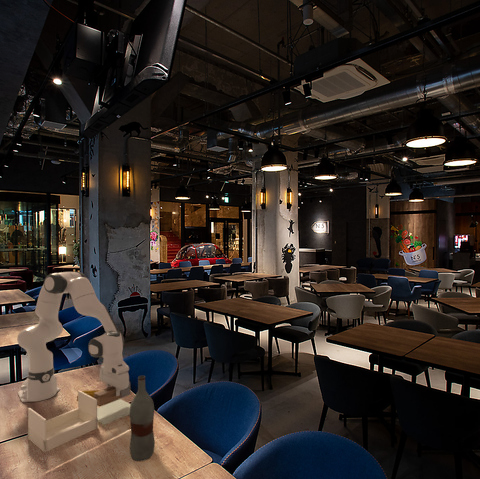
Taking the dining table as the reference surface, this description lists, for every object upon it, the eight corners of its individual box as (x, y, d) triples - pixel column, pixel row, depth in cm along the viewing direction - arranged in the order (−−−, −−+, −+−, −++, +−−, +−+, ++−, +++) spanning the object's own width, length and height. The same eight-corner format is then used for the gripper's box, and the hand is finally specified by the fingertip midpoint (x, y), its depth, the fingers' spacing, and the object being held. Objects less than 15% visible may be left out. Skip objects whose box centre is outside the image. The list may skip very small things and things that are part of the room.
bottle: (130, 464, 125) (130, 383, 125) (128, 451, 133) (127, 374, 134) (156, 458, 129) (155, 378, 129) (152, 445, 137) (152, 370, 137)
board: (86, 415, 162) (86, 412, 162) (119, 401, 176) (119, 398, 176) (104, 426, 152) (104, 423, 152) (138, 410, 166) (138, 407, 166)
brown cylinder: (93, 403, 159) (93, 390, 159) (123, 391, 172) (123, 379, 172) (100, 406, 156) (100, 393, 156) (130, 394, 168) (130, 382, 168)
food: (76, 405, 172) (76, 394, 172) (79, 400, 177) (79, 389, 177) (119, 401, 176) (119, 390, 176) (121, 396, 181) (121, 385, 181)
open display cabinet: (27, 439, 142) (27, 408, 142) (79, 417, 159) (79, 390, 159) (44, 454, 132) (44, 420, 132) (97, 429, 149) (97, 399, 150)
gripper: (95, 362, 168) (96, 390, 168) (119, 371, 156) (119, 402, 156) (107, 359, 173) (107, 386, 173) (131, 367, 161) (131, 397, 161)
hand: (113, 393), depth 164 cm, fingers closed on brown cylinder, 5 cm apart
